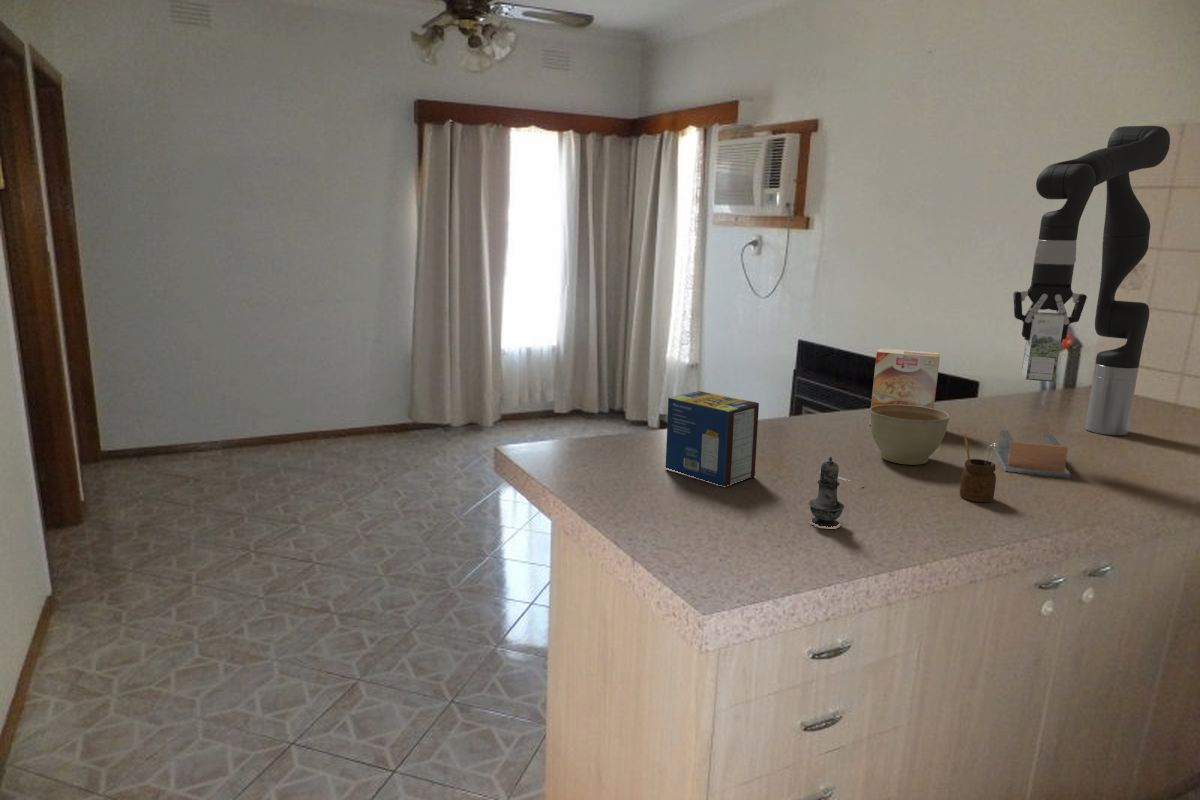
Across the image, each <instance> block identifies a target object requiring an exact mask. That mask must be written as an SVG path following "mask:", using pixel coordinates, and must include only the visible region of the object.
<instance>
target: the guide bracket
mask: <svg viewBox="0 0 1200 800" xmlns="http://www.w3.org/2000/svg"><path fill="white" fill-rule="evenodd" d="M998 438H999V439H998V444H997V445H995V444H994V445H993V449H994V451H993V452H994V454H995V455H997V456H996V458H998V459H997V460H999V463H1000V462H1001V463H1000V464H1002V465H1001V466H1002V469H1003V470H1004V472H1006V471H1008V472H1007V473H1015V472H1017V473H1016V474H1025V473H1026V474H1027V475H1034V474H1037V475H1036V476H1043V475H1045V477H1056V478H1062V477H1063V479H1070V478H1071V473H1070V471H1069V470H1068V469H1067V468H1066V464H1067V463H1066V462H1067V457H1068V456H1067V455H1068V450H1069V447H1068V446H1067V445H1061V443H1060V442H1059V441H1058V440H1057V439H1056V437H1055V436H1054V435H1053V434H1049V433H1044V434H1043V440H1042V443H1039V442H1031V441H1030V442H1028V441H1019V440H1018V441H1016V440H1015V439H1014V438H1013V436H1012V435H1011V433H1010V432H1009V431H1008V430H1006V429H1000V431H999V437H998ZM994 446H995V448H994ZM997 446H998V447H997ZM998 450H999V451H998ZM997 452H998V454H997ZM999 453H1000V454H999ZM998 456H999V457H998Z"/></svg>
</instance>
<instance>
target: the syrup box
mask: <svg viewBox="0 0 1200 800" xmlns="http://www.w3.org/2000/svg"><path fill="white" fill-rule="evenodd" d="M1031 323H1032V326H1031V333H1030V340H1025V348H1024V353H1023V354H1024V355H1023V361H1022V368H1021V376H1022V378H1023V379H1025V380H1026V381H1027V380H1028V381H1039V382H1049V383H1051V382H1053V383H1054V382H1055V380H1056V375H1057V374H1056V373H1057V369H1058V368H1057V367H1058V361H1059V356H1060V355H1059V354H1060V349H1061V343H1062V342H1061V337H1062V331H1063V325H1064V316H1063V315H1060V314H1059V313H1057V312H1042V311H1041V312H1040V311H1038V312H1037V313H1036V314H1035V313H1034V315H1033V319H1032V320H1031Z"/></svg>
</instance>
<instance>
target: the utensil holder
mask: <svg viewBox="0 0 1200 800" xmlns="http://www.w3.org/2000/svg"><path fill="white" fill-rule="evenodd" d="M963 437H964V445H965V450H966V451H965V452H966V454H967V459H966V460H965V462H964V469H963V470H962V472H961V477H960V484H959V496H960V497H961V498H962V497H963V498H962V499H964V498H965V499H964V500H966V499H968V500H967V501H969V500H971V501H970V502H973V501H976V502H975V503H981V502H985V503H990V502H992V501H993V500H994V497H995V491H996V485H997V484H996V483H997V475H996V473H995V471H996V464H995V462H997V460H999V459H998V457H999V456H998V457H997V455H996V454H995V455H996V456H995V458H994V460H993V461H991V458H992V456H993V453H994V452H995V451H994V448H995V446H997V447H998V444H997V443H990V444H989V446H988V448H986V449H985V451H984V456H983V457H984V459H980V458H971V457H970V447H969V441H968V436H967V433H965V434H964V435H963ZM994 445H995V446H994ZM992 446H993V449H992V453H991V455H990V458H989V460H987V458H988V457H987V456H988V453H989V450H990V448H991V447H992ZM998 451H999V450H998ZM997 454H998V452H997ZM999 454H1000V453H999ZM996 458H997V459H996Z"/></svg>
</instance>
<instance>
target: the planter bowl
mask: <svg viewBox="0 0 1200 800" xmlns="http://www.w3.org/2000/svg"><path fill="white" fill-rule="evenodd" d="M869 414H870V415H871V419H870V418H869V422H871V426H870V430H871V434H872V438H873V440H874V442H875V444H876V446H877V447H878V449H879V451H880V456H881V458H882V459H883V460H885V461H888V462H891V463H894V464H897V463H898V464H900V465H910V466H912V465H913V466H914V465H915V466H917V465H924V464H926V463H928V460H929V458H930V457H931V455H932V454H934V453H935V452H936V450H937V449H938V448H939V446H940V445H941V443H942V441H943V440H944V438H945V435H946V432H947V427H948V422H949V420H950V415H949V414H948V413H947V412H945V411H942V410H939V409H935V408H934V409H932V408H927V407H920V406H911V405H891V404H890V405H877V406H873V407H871V406H870V409H869ZM870 415H869V416H870Z"/></svg>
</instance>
